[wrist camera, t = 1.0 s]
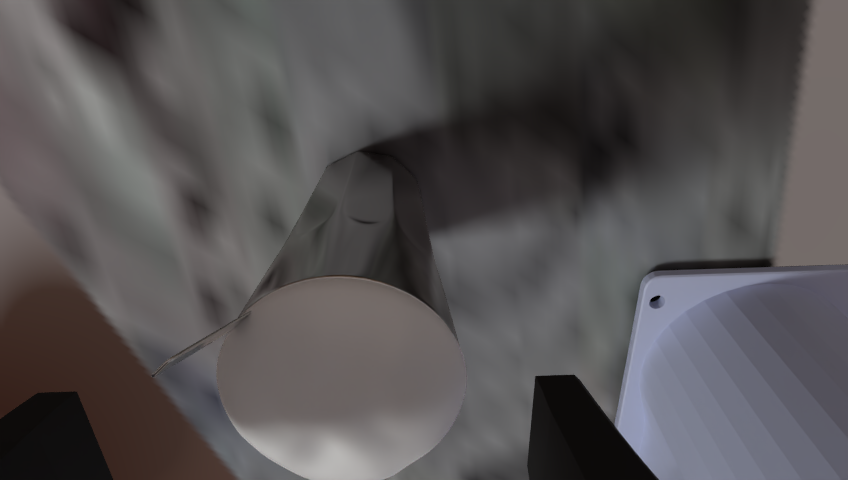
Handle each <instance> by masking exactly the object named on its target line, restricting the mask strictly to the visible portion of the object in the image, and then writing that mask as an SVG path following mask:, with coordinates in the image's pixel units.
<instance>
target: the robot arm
mask: <svg viewBox="0 0 848 480" xmlns="http://www.w3.org/2000/svg"><path fill="white" fill-rule="evenodd" d="M658 295H659V296H660V298H659V299H658V300H656V301H654V302H650V300H651V299H652V298H653V297H654V296H658ZM527 466H528V473H529V480H848V265H818V266H790V267H789V266H786V267H755V268H725V269H694V270H663V271H654V272H651V273H649V274H648V275H646V276H645V277H644V278H643V280H642V282H641V286H640V291H639V296H638V302H637V307H636V312H635V318H634V323H633V328H632V334H631V339H630V345H629V350H628V355H627V361H626V366H625V371H624V377H623V382H622V387H621V393H620V398H619V404H618V409H617V414H616V420H615V425H613V423H612V422H611V421H610V419H609V418H608V417H607V416H606V414H605V413H604V412H603V410H602V409H601V408H600V406H599V405H598V404H597V402H596V401H595V400H594V398H593V397H592V396H591V394H590V393H589V392H588V390H587V389H586V388H585V386H584V385H583V384H582V382H581V381H580V380H579V379H578V378H577V377H576V376H575V375H552V376H535V387H534V398H533V409H532V420H531V431H530V442H529V453H528V465H527ZM0 480H113V478H112V476H111V474H110V471H109V468H108V466H107V464H106V461H105V459H104V456H103V454H102V451H101V449H100V447H99V445H98V442H97V439H96V437H95V435H94V432H93V430H92V427H91V425H90V423H89V420H88V418H87V415H86V413H85V411H84V408H83V406H82V403H81V401H80V398H79V396H78V394H77V392H49V393H37V394H36V395H34V396H32V397H31V398H30V399H28V400H27V401H25V402H24V403H22V404H21V405H19V406H18V407H16V408H15V409H14V410H12V411H11V412H9V413H8V414H7V415H5V416H4V417H3V418H1V419H0Z"/></svg>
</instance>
